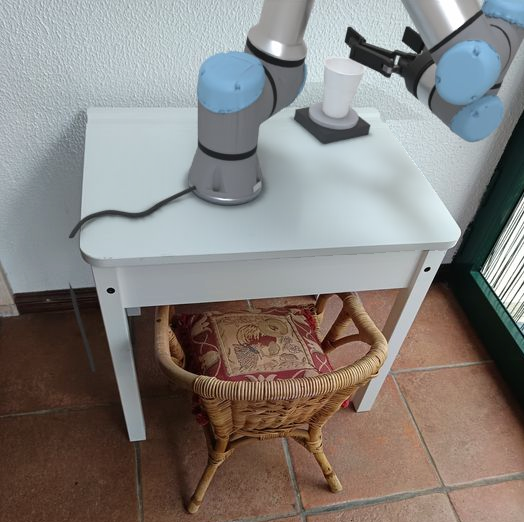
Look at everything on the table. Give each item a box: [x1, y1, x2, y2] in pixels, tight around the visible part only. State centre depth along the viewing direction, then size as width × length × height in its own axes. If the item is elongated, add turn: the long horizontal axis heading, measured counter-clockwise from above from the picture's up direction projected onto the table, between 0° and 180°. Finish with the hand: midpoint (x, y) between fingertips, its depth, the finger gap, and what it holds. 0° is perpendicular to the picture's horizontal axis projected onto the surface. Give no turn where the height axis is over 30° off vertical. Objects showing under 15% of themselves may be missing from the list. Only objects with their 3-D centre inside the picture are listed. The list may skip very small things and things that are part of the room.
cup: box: [322, 56, 367, 118], centre depth 116 cm, size 10×10×11 cm
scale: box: [293, 101, 371, 145], centre depth 122 cm, size 14×13×3 cm
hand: (376, 33), depth 99 cm, fingers open, 13 cm apart
